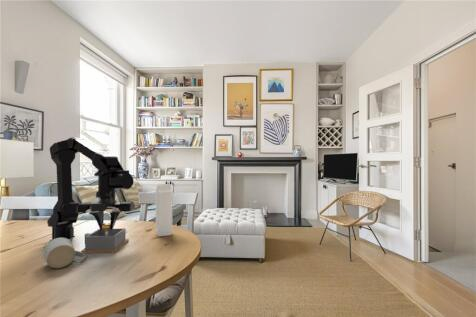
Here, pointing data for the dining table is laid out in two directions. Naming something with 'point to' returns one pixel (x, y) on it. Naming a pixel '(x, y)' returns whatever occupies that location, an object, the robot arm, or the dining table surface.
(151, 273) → the dining table surface
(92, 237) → the grey square tray
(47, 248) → the ceramic mug
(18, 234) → the dining table surface
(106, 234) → the plunger
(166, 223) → the milk
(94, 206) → the robot arm
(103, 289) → the dining table surface
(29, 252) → the dining table surface
